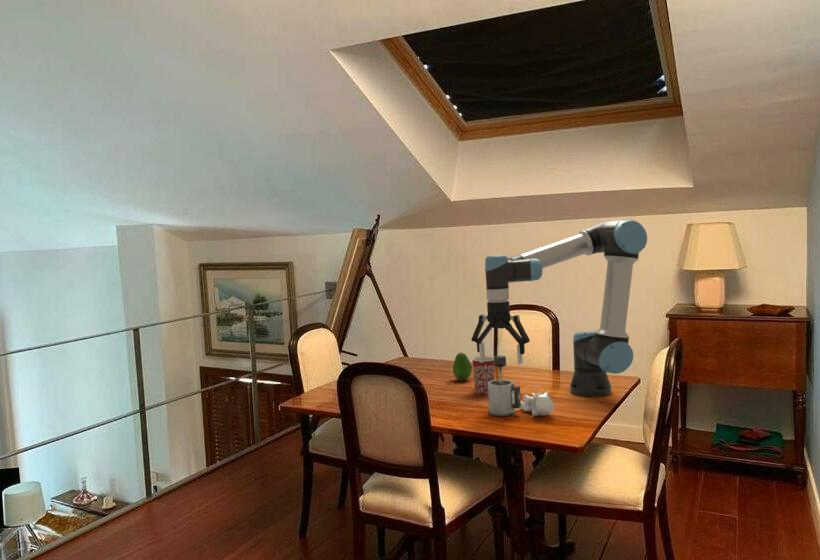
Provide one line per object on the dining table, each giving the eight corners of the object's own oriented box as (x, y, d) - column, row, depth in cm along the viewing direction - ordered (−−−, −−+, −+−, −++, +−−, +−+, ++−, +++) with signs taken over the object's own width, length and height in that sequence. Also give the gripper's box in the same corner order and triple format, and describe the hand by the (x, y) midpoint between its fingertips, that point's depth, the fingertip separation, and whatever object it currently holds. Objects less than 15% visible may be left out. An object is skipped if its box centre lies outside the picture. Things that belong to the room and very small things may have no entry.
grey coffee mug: (524, 411, 212) (523, 381, 211) (514, 418, 204) (513, 387, 203) (494, 408, 217) (493, 378, 217) (484, 415, 209) (483, 384, 209)
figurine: (525, 384, 217) (549, 385, 203) (540, 397, 218) (564, 399, 204) (509, 408, 213) (532, 411, 199) (524, 422, 215) (548, 425, 201)
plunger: (512, 405, 212) (510, 355, 211) (506, 409, 207) (504, 358, 206) (497, 403, 215) (495, 354, 214) (490, 408, 210) (489, 357, 209)
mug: (499, 394, 235) (497, 359, 234) (475, 396, 234) (474, 361, 233) (491, 386, 248) (490, 353, 247) (469, 388, 247) (468, 355, 246)
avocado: (452, 382, 258) (451, 354, 257) (454, 378, 265) (453, 350, 264) (471, 382, 256) (470, 354, 255) (472, 378, 264) (471, 350, 263)
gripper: (537, 299, 205) (540, 362, 207) (468, 299, 218) (472, 358, 219) (529, 302, 199) (532, 367, 201) (460, 302, 211) (463, 363, 213)
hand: (501, 362), depth 210 cm, fingers open, 13 cm apart
